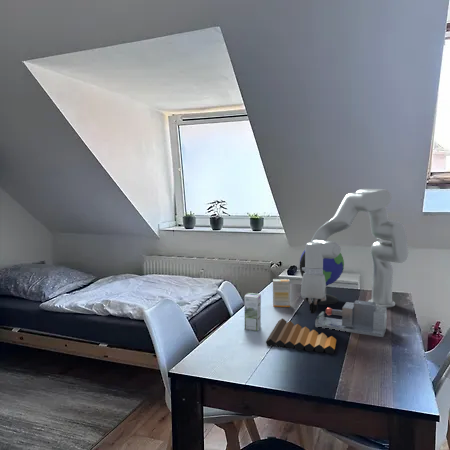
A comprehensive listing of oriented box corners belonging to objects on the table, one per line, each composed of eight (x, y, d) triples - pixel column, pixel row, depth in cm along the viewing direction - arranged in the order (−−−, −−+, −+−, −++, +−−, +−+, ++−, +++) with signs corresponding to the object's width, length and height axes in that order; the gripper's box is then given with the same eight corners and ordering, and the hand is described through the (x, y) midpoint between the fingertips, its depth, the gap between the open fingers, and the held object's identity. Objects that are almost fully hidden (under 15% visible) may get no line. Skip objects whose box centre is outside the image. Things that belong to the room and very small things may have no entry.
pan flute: (278, 325, 182) (265, 347, 158) (278, 317, 182) (265, 338, 158) (338, 331, 174) (334, 355, 151) (338, 323, 174) (334, 346, 150)
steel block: (355, 323, 179) (355, 300, 178) (375, 326, 175) (375, 302, 174) (353, 327, 174) (353, 303, 173) (373, 329, 171) (374, 305, 170)
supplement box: (289, 304, 211) (289, 278, 209) (289, 307, 206) (290, 281, 205) (272, 304, 212) (272, 278, 210) (272, 307, 207) (272, 280, 206)
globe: (338, 308, 204) (340, 246, 201) (294, 302, 214) (294, 244, 211) (346, 296, 224) (347, 240, 221) (305, 292, 234) (306, 238, 231)
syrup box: (261, 326, 179) (261, 293, 177) (257, 331, 173) (257, 296, 172) (248, 325, 181) (248, 292, 179) (244, 330, 175) (244, 295, 174)
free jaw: (327, 316, 186) (328, 299, 185) (355, 320, 180) (356, 303, 179) (322, 322, 178) (323, 305, 177) (351, 327, 172) (352, 308, 171)
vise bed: (321, 319, 188) (322, 299, 187) (386, 328, 176) (387, 306, 175) (315, 327, 178) (315, 305, 177) (383, 337, 166) (384, 314, 165)
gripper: (294, 271, 182) (294, 312, 184) (329, 274, 175) (328, 317, 177) (299, 268, 188) (299, 308, 190) (333, 270, 182) (332, 312, 184)
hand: (313, 312), depth 184 cm, fingers closed
